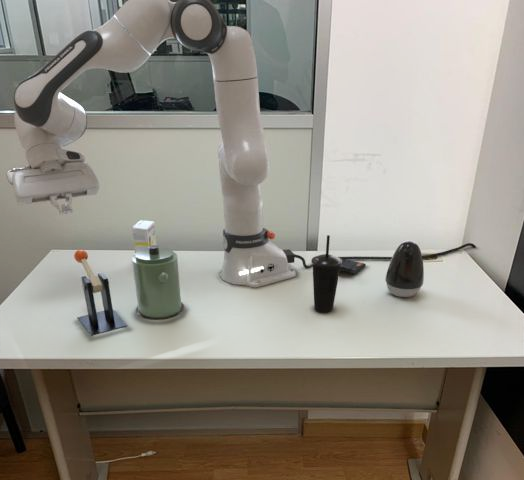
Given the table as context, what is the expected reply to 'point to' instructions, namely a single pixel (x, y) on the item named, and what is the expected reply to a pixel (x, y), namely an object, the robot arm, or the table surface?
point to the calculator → (351, 266)
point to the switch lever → (88, 270)
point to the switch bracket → (103, 319)
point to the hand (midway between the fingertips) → (66, 212)
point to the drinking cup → (325, 280)
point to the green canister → (157, 283)
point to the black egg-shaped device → (405, 270)
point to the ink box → (144, 234)
